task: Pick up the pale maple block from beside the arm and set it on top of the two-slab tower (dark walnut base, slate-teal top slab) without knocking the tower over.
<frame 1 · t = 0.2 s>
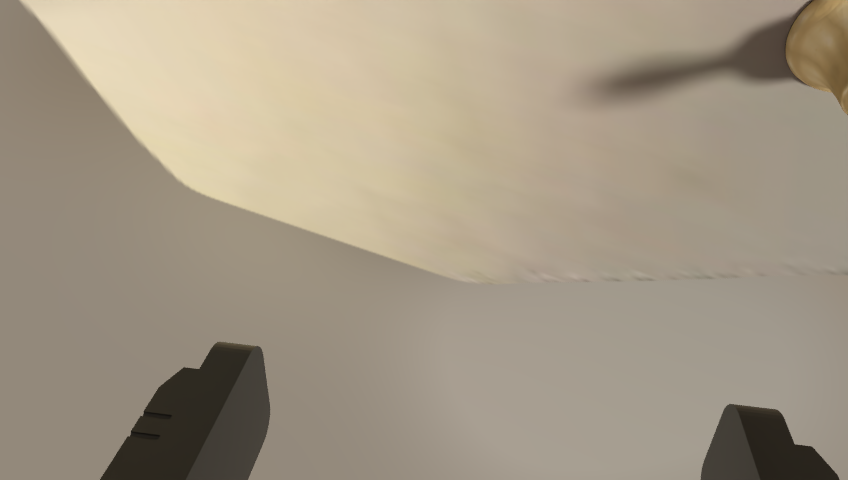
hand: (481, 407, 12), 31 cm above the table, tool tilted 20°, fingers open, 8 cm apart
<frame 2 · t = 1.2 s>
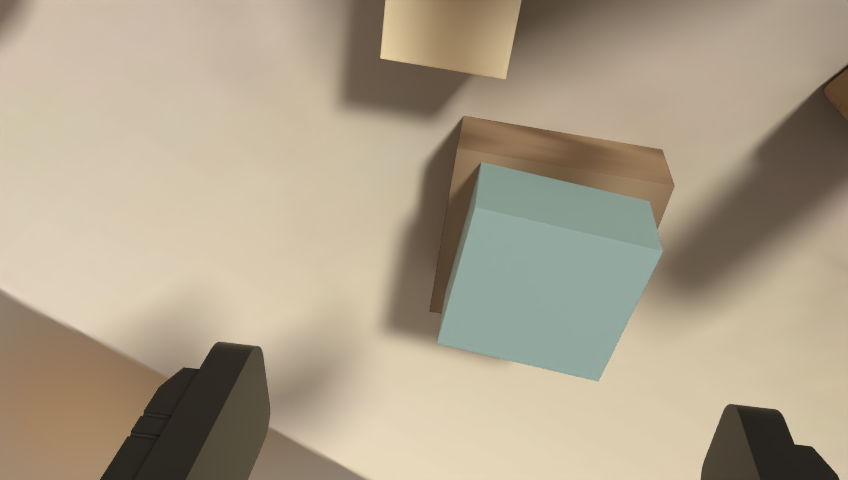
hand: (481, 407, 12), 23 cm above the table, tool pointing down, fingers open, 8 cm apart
tower base: (540, 211, 37), on the table, touching tower top
tower top: (540, 249, 34), point 4 cm above the table, touching tower base
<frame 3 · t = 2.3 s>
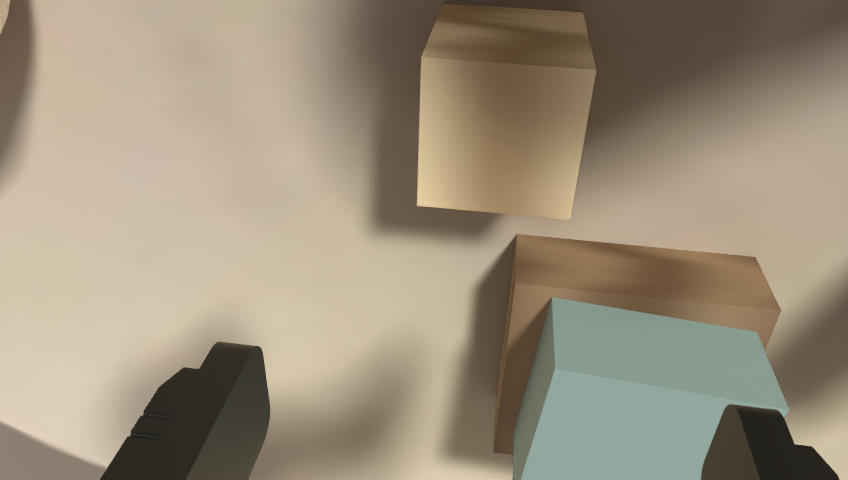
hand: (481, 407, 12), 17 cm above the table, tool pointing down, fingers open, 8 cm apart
tower base: (611, 327, 32), on the table, touching tower top
tower top: (625, 386, 29), point 4 cm above the table, touching tower base
maple block: (505, 74, 26), on the table
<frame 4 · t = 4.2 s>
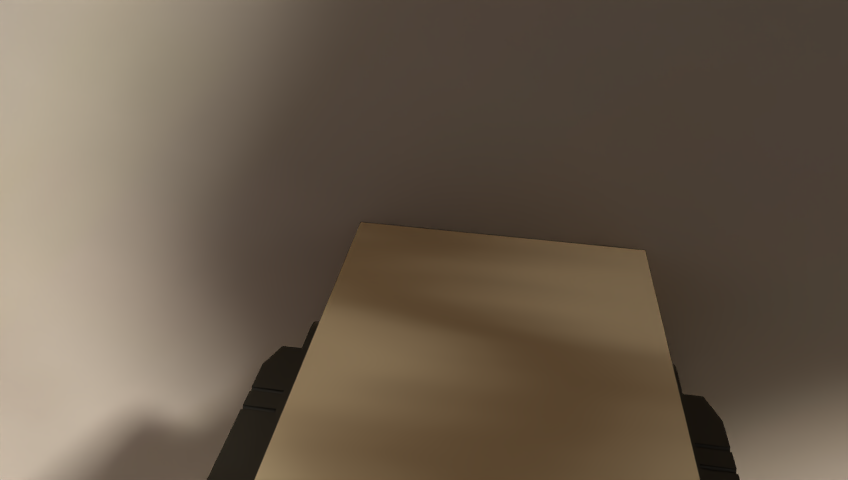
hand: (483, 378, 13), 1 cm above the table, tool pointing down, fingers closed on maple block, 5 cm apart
maple block: (488, 342, 13), on the table, touching gripper
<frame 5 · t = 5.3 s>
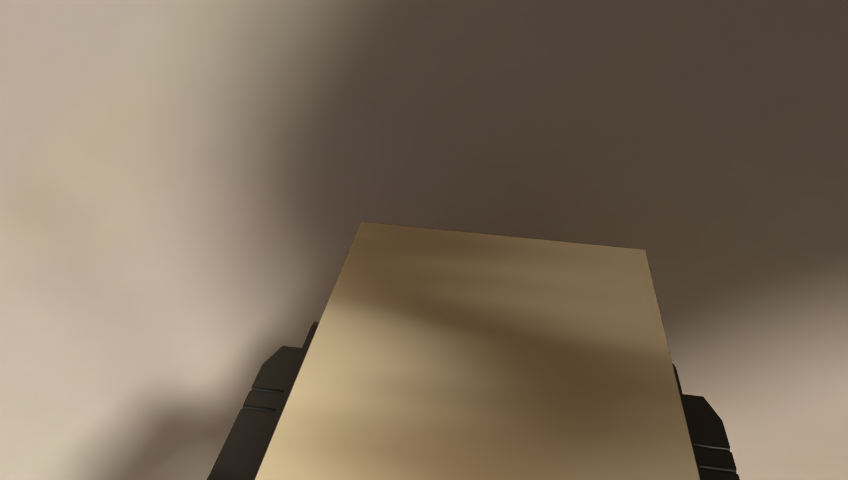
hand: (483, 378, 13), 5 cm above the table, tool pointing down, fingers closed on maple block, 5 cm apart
maple block: (488, 342, 13), point 4 cm above the table, touching gripper
when the fingers open (11 cm above the table, at t = 10.5 s): maple block drops 2 cm, resting on tower top.
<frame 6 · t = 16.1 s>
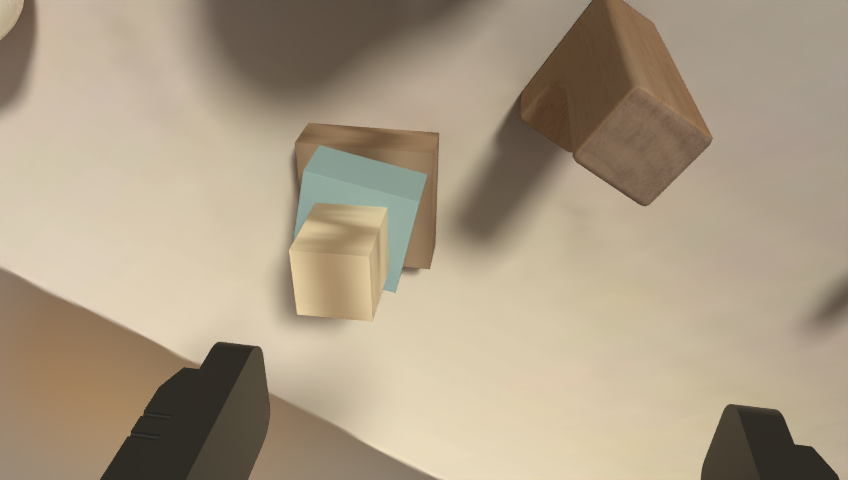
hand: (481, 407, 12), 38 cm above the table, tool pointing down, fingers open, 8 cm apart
wooden block: (585, 60, 47), on the table
tower base: (375, 183, 54), on the table, touching tower top
tower top: (363, 206, 51), point 3 cm above the table, touching maple block, tower base
maple block: (353, 236, 48), point 7 cm above the table, touching tower top
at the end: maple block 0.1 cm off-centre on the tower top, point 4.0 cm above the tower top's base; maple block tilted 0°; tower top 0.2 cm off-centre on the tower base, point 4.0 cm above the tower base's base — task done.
